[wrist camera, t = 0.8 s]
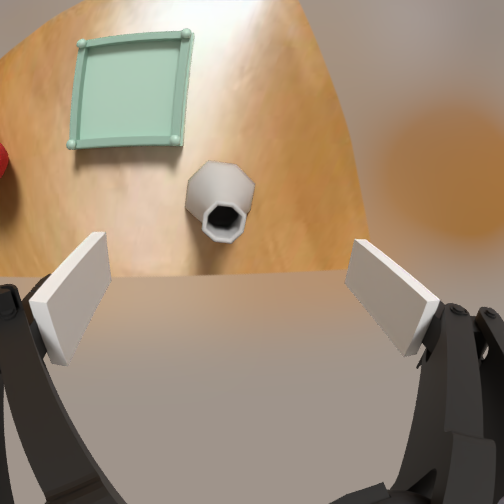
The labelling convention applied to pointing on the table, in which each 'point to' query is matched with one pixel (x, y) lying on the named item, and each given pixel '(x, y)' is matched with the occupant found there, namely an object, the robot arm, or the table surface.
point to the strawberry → (3, 160)
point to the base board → (131, 90)
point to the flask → (220, 200)
